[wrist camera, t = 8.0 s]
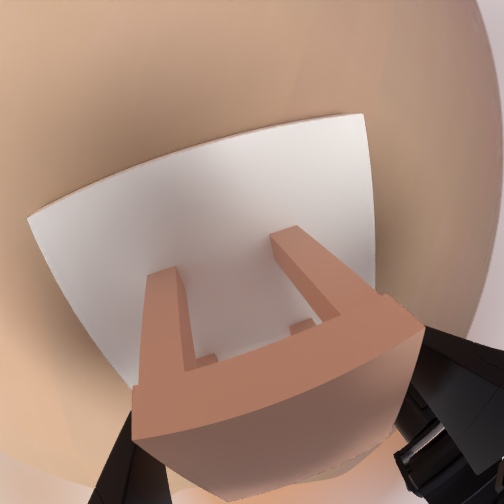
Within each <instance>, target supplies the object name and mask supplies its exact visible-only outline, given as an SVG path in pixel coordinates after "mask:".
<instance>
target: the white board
mask: <svg viewBox="0 0 504 504" xmlns="http://www.w3.org/2000/svg"><path fill="white" fill-rule="evenodd" d="M27 221H28V223H29V226H30V228H31V230H32V233H33V235H34V237H35V239H36V242H37V244H38V246H39V248H40V250H41V252H42V254H43V257H44V259H45V261H46V263H47V265H48V267H49V268H50V270H51V272H52V274H53V276H54V278H55V280H56V282H57V283H58V285H59V287H60V289H61V291H62V292H63V294H64V296H65V298H66V299H67V301H68V303H69V304H70V306H71V308H72V309H73V311H74V312H75V314H76V316H77V317H78V319H79V320H80V322H81V323H82V325H83V326H84V328H85V329H86V331H87V332H88V334H89V335H90V337H91V338H92V340H93V341H94V342H95V344H96V345H97V347H98V348H99V349H100V351H101V352H102V354H103V355H104V356H105V358H106V359H107V360H108V361H109V363H110V364H111V365H112V367H113V368H114V369H115V370H116V372H117V373H118V374H119V375H120V377H121V378H122V379H123V380H124V382H125V383H126V384H127V385H128V386H129V388H130V389H131V390H132V386H134V385H138V378H139V356H140V340H141V327H142V316H143V306H144V297H145V289H146V281H147V275H149V274H152V273H155V272H158V271H161V270H164V269H167V268H170V267H173V266H176V268H177V270H178V273H179V275H180V277H181V280H182V282H183V285H184V287H185V289H186V294H187V302H188V310H189V317H190V324H191V331H192V338H193V344H194V351H195V357H196V359H198V358H201V357H204V356H207V355H210V354H214V353H215V355H216V357H217V359H218V361H219V362H220V361H223V360H226V359H229V358H232V357H235V356H238V355H241V354H244V353H247V352H249V351H252V350H255V349H258V348H261V347H263V346H266V345H269V344H271V343H274V342H277V341H279V340H282V339H284V338H287V337H290V336H291V334H290V329H289V326H292V325H294V324H297V323H299V322H302V321H304V320H307V319H309V318H312V319H313V321H314V322H315V323H316V325H319V324H321V323H323V322H322V321H321V319H320V318H319V317H318V316H317V314H316V313H315V312H314V310H313V309H312V308H311V306H310V305H309V304H308V303H307V301H306V300H305V299H304V297H303V296H302V295H301V293H300V292H299V291H298V290H297V288H296V287H295V286H294V284H293V283H292V282H291V280H290V279H289V278H288V277H287V275H286V274H285V273H284V271H283V270H282V269H281V268H280V266H279V265H278V264H277V262H276V261H275V259H274V254H273V250H272V245H271V241H270V236H269V234H271V233H274V232H277V231H280V230H283V229H286V228H289V227H292V226H296V225H297V226H299V227H300V228H301V229H303V230H304V231H305V232H306V233H307V234H309V235H310V236H311V237H312V238H314V239H315V240H316V241H317V242H319V243H320V244H321V245H322V246H323V247H325V248H326V249H327V250H328V251H330V252H331V253H332V254H333V255H334V256H336V257H337V258H338V259H339V260H340V261H342V262H343V263H344V264H345V265H346V266H347V267H349V268H350V269H351V270H352V271H353V272H355V273H356V274H357V275H358V276H359V277H360V278H362V279H363V280H364V281H365V282H366V283H367V284H368V285H370V286H371V287H372V288H373V289H374V290H375V220H374V202H373V188H372V177H371V167H370V158H369V150H368V142H367V135H366V128H365V122H364V116H363V114H338V115H331V116H324V117H317V118H311V119H305V120H299V121H294V122H289V123H283V124H278V125H274V126H269V127H264V128H260V129H255V130H251V131H247V132H243V133H239V134H235V135H231V136H227V137H223V138H219V139H216V140H212V141H209V142H205V143H202V144H198V145H195V146H192V147H188V148H185V149H182V150H179V151H176V152H173V153H170V154H167V155H164V156H161V157H158V158H155V159H152V160H149V161H147V162H144V163H141V164H139V165H136V166H133V167H131V168H128V169H126V170H123V171H120V172H118V173H115V174H113V175H111V176H108V177H106V178H103V179H101V180H99V181H96V182H94V183H92V184H90V185H87V186H85V187H83V188H81V189H79V190H76V191H74V192H72V193H70V194H68V195H66V196H64V197H62V198H60V199H58V200H56V201H54V202H52V203H50V204H48V205H46V206H44V207H42V208H41V209H39V210H38V211H36V212H35V213H33V214H32V215H31V216H29V217H28V218H27Z"/></svg>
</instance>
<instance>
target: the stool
mask: <svg viewBox="0 0 504 504" xmlns="http://www.w3.org/2000/svg"><path fill="white" fill-rule="evenodd" d="M269 236H270V241H271V245H272V250H273V254H274V259H275V261H276V262H277V264H278V265H279V266H280V268H281V269H282V270H283V271H284V273H285V274H286V275H287V277H288V278H289V279H290V280H291V282H292V283H293V284H294V286H295V287H296V288H297V290H298V291H299V292H300V293H301V295H302V296H303V297H304V299H305V300H306V301H307V303H308V304H309V305H310V306H311V308H312V309H313V310H314V312H315V313H316V314H317V316H318V317H319V318H320V319H321V321H322V322H323V323H321V324H319V325H316V323H315V322H314V321H313V319H312V318H309V319H307V320H304V321H302V322H299V323H297V324H294V325H292V326H289V329H290V334H291V336H290V337H287V338H284V339H282V340H279V341H277V342H274V343H271V344H269V345H266V346H263V347H261V348H258V349H255V350H252V351H249V352H247V353H244V354H241V355H238V356H235V357H232V358H229V359H226V360H223V361H220V362H219V361H218V359H217V357H216V355H215V353H214V354H210V355H207V356H204V357H201V358H198V359H196V357H195V351H194V344H193V338H192V331H191V324H190V317H189V310H188V302H187V294H186V289H185V287H184V285H183V282H182V280H181V277H180V275H179V273H178V270H177V268H176V266H173V267H170V268H167V269H164V270H161V271H158V272H155V273H152V274H149V275H147V281H146V289H145V297H144V306H143V316H142V327H141V340H140V356H139V378H138V385H134V386H132V441H133V442H134V443H136V444H137V445H138V446H140V447H141V448H142V449H143V450H145V451H146V452H147V453H149V454H150V455H152V456H153V457H154V458H156V459H157V460H158V461H160V462H161V463H163V464H164V465H166V466H167V467H169V468H170V469H172V470H173V471H175V472H176V473H178V474H179V475H181V476H182V477H184V478H186V479H187V480H189V481H191V482H192V483H194V484H196V485H197V486H199V487H201V488H203V489H204V490H206V491H208V492H210V493H212V494H213V495H215V496H217V497H219V498H221V499H223V500H225V501H227V502H230V501H235V500H239V499H243V498H247V497H251V496H255V495H259V494H262V493H265V492H269V491H272V490H276V489H279V488H282V487H285V486H288V485H291V484H293V483H296V482H299V481H302V480H304V479H307V478H309V477H312V476H314V475H317V474H319V473H322V472H324V471H326V470H328V469H331V468H333V467H335V466H337V465H339V464H342V463H344V462H346V461H348V460H350V459H352V458H354V457H356V456H358V455H360V454H362V453H363V452H365V451H367V450H369V449H371V448H373V447H374V446H376V445H378V444H380V443H381V442H383V441H385V440H386V439H387V438H388V436H389V434H390V432H391V429H392V427H393V425H394V422H395V420H396V418H397V415H398V413H399V410H400V408H401V405H402V403H403V400H404V397H405V395H406V392H407V389H408V386H409V383H410V380H411V377H412V374H413V371H414V368H415V365H416V361H417V358H418V355H419V351H420V348H421V344H422V340H423V336H424V332H425V328H426V327H425V326H424V325H423V324H421V323H420V322H419V321H418V320H417V319H416V318H415V317H414V316H413V315H411V314H410V313H409V312H408V311H407V310H406V309H405V308H404V307H402V306H401V305H400V304H399V303H398V302H397V301H395V300H394V299H393V298H392V297H391V296H390V295H389V294H387V293H386V294H384V295H382V296H381V295H380V294H379V293H378V292H377V291H375V290H374V289H373V288H372V287H371V286H370V285H368V284H367V283H366V282H365V281H364V280H363V279H362V278H360V277H359V276H358V275H357V274H356V273H355V272H353V271H352V270H351V269H350V268H349V267H347V266H346V265H345V264H344V263H343V262H342V261H340V260H339V259H338V258H337V257H336V256H334V255H333V254H332V253H331V252H330V251H328V250H327V249H326V248H325V247H323V246H322V245H321V244H320V243H319V242H317V241H316V240H315V239H314V238H312V237H311V236H310V235H309V234H307V233H306V232H305V231H304V230H303V229H301V228H300V227H299V226H297V225H296V226H292V227H289V228H286V229H283V230H280V231H277V232H274V233H271V234H269Z"/></svg>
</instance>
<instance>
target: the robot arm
mask: <svg viewBox="0 0 504 504" xmlns="http://www.w3.org/2000/svg"><path fill="white" fill-rule="evenodd" d="M424 326H425V325H424ZM425 327H426V328H425V332H424V336H423V340H422V344H421V348H420V351H419V355H418V358H417V361H416V365H415V368H414V371H413V374H412V377H411V380H410V383H409V386H408V389H407V392H406V395H405V397H404V400H403V403H402V405H401V408H400V410H399V413H398V415H397V418H396V420H395V422H394V425H395V426H396V427H397V429H398V430H399V432H400V433H401V434H402V436H403V437H404V439H405V440H406V441H407V443H408V444H407V445H406V446H405V447H404V448H402V449H401V450H400V451H397V452H396V453H395V454H393V455H394V458H395V460H396V464H397V466H398V468H399V470H400V472H401V474H402V476H403V478H404V480H405V483H406V487H407V489H408V491H411V492H413V493H414V494H415V495H416V496H418V497H420V498H422V497H424V498H425V499H426V501H427V502H428V503H429V504H504V459H503V460H502V457H503V456H504V351H503V350H499V349H495V348H491V347H488V346H485V345H481V344H478V343H474V342H472V341H469V340H466V339H463V338H460V337H457V336H454V335H452V334H449V333H446V332H443V331H440V330H437V329H434V328H431V327H428V326H425ZM443 427H445V429H444V430H443V431H441V432H440V433H439V434H438V435H437V436H436V437H435V438H434V439H432V440H431V441H430V442H429V443H428V444H427V445H425V446H424V447H423V448H422V449H420V450H419V451H418V452H417V453H415V454H414V452H415V451H417V450H418V449H419V448H420V447H422V446H423V445H424V444H425V443H426V442H428V441H429V440H430V439H431V438H432V437H433V436H435V435H436V434H437V433H438V432H439V431H440V430H441V429H442V428H443ZM88 504H172V500H171V495H170V490H169V484H168V479H167V473H166V467H165V465H164V464H163V463H161V462H160V461H158V460H157V459H156V458H154V457H153V456H152V455H150V454H149V453H147V452H146V451H145V450H143V449H142V448H141V447H140V446H138V445H137V444H136V443H134V442H133V441H132V410H131V411H130V413H129V415H128V417H127V419H126V421H125V423H124V425H123V427H122V430H121V432H120V434H119V436H118V438H117V440H116V442H115V444H114V447H113V449H112V451H111V453H110V455H109V457H108V459H107V462H106V464H105V466H104V468H103V470H102V473H101V475H100V477H99V479H98V482H97V484H96V488H94V491H93V493H92V495H91V498H90V500H89V502H88Z"/></svg>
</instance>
